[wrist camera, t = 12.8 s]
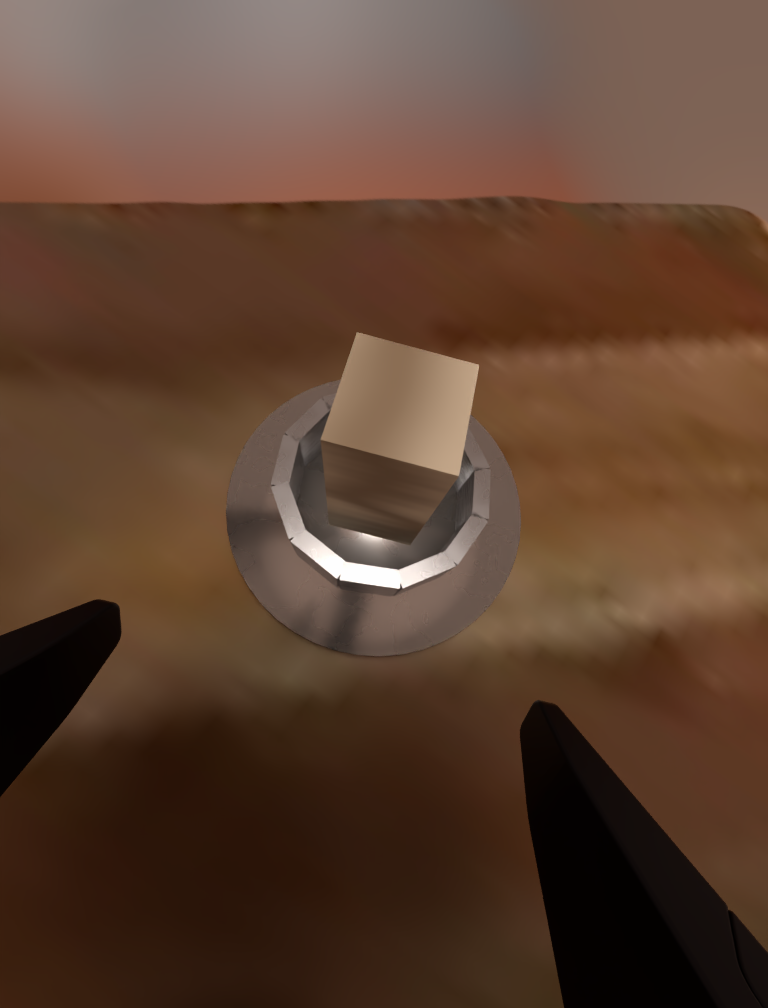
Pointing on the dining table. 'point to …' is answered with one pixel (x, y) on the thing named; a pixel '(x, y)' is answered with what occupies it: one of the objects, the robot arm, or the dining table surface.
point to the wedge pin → (395, 437)
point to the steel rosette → (366, 542)
